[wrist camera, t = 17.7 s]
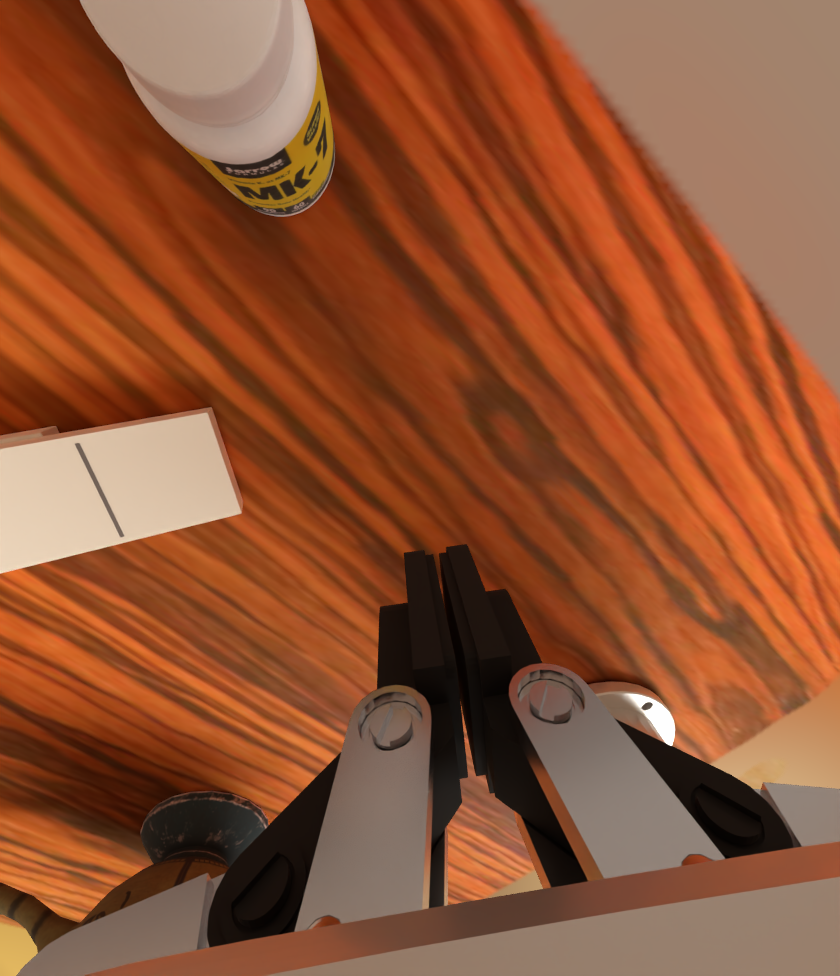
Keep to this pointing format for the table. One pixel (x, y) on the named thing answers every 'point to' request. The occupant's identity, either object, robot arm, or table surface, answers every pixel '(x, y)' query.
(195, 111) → the supplement bottle
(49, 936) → the teapot
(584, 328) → the table surface
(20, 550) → the domino
